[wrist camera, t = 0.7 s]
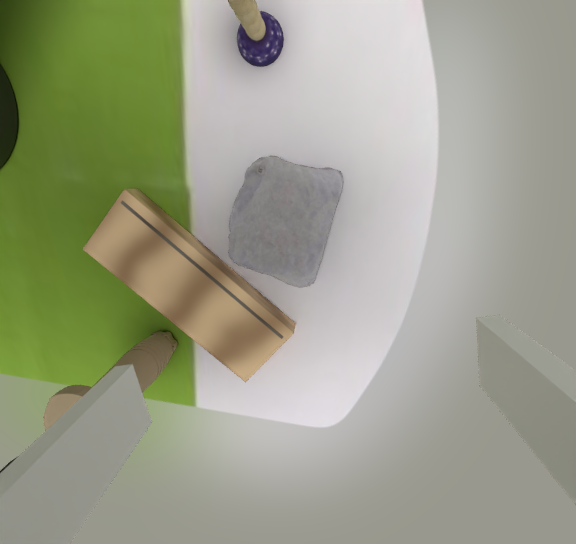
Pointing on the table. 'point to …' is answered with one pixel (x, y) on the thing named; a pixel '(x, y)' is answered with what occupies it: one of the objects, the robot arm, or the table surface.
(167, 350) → the handle
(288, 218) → the stone block
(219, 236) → the table surface
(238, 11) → the toy lamp
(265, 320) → the oak board
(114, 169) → the table surface
